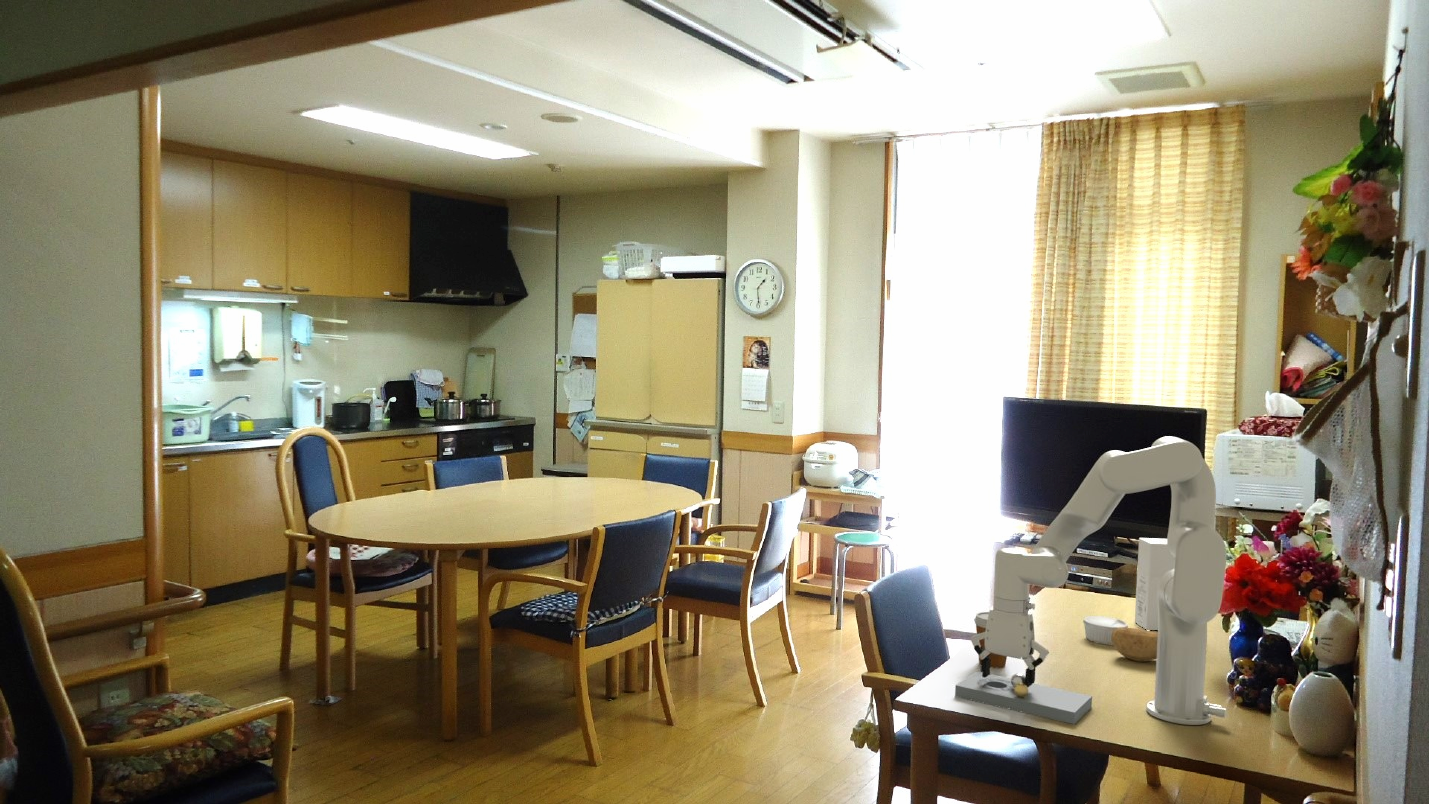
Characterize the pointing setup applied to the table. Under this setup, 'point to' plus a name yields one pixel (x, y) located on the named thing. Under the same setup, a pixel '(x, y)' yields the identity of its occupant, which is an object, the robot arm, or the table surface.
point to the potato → (1135, 643)
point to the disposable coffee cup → (981, 623)
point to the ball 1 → (1017, 679)
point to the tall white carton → (1151, 579)
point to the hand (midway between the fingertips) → (1007, 680)
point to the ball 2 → (1021, 690)
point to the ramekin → (1101, 628)
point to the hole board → (1035, 702)
